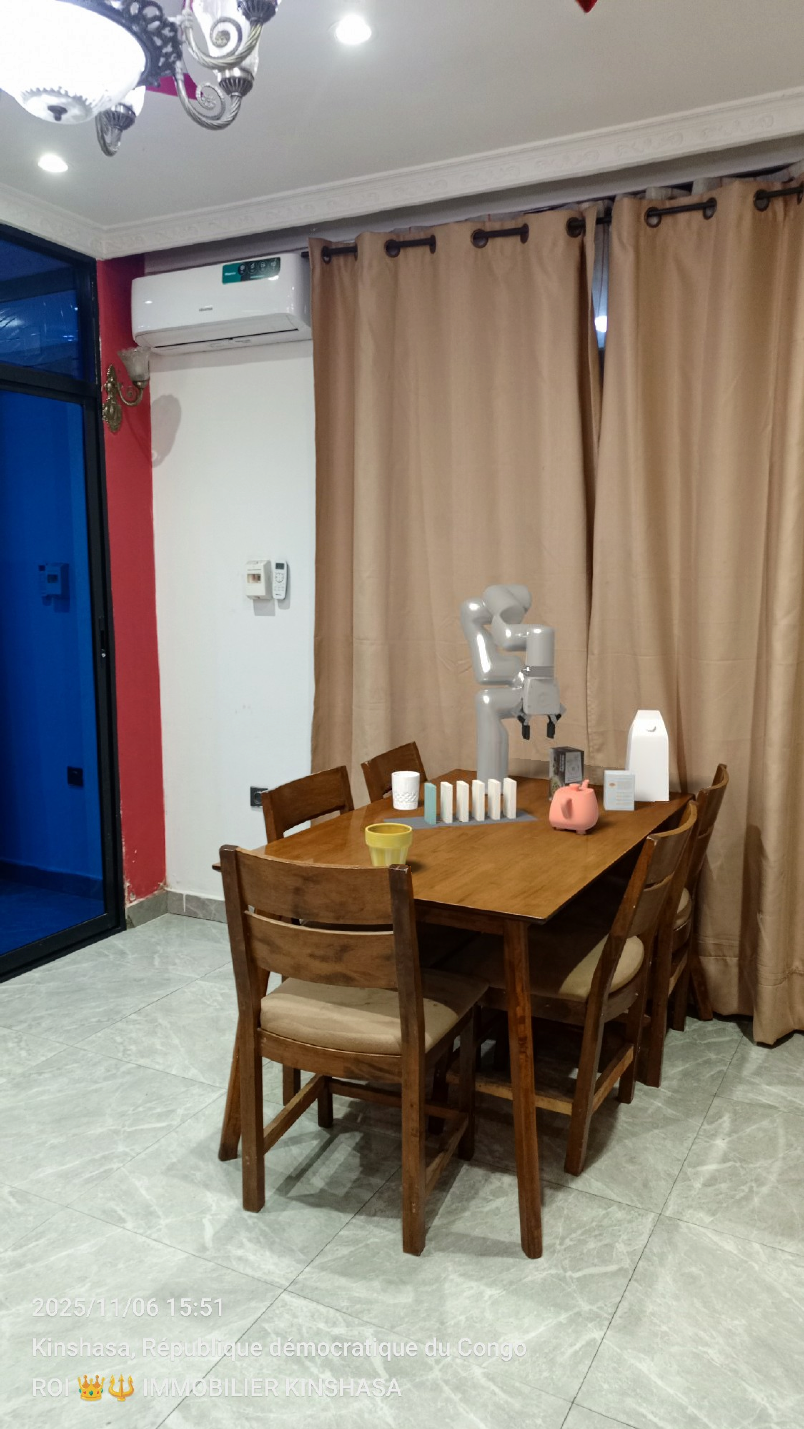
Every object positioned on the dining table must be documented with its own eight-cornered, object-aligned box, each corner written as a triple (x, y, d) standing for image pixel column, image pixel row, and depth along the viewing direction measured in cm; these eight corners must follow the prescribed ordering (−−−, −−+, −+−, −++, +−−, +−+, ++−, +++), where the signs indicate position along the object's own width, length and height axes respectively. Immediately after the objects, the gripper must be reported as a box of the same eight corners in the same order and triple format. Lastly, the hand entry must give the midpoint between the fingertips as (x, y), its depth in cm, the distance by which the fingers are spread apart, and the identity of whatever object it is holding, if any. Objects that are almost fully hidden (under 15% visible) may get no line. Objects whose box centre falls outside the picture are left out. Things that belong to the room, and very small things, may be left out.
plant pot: (388, 861, 220) (388, 819, 219) (421, 871, 213) (422, 828, 212) (355, 871, 213) (355, 828, 212) (389, 881, 206) (389, 836, 204)
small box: (631, 806, 274) (632, 770, 272) (634, 811, 268) (635, 774, 267) (602, 805, 275) (604, 769, 273) (605, 810, 269) (606, 773, 268)
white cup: (385, 808, 271) (385, 773, 270) (406, 804, 276) (406, 769, 275) (404, 813, 265) (404, 777, 264) (425, 809, 271) (425, 774, 269)
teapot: (585, 841, 238) (586, 793, 236) (539, 835, 243) (540, 788, 242) (607, 823, 255) (609, 778, 254) (564, 817, 261) (565, 774, 259)
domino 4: (472, 816, 260) (472, 780, 259) (477, 816, 260) (478, 779, 259) (478, 820, 255) (479, 784, 254) (484, 820, 256) (484, 783, 254)
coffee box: (583, 806, 274) (585, 750, 272) (564, 808, 271) (565, 752, 269) (566, 799, 282) (568, 745, 280) (547, 801, 280) (549, 746, 278)
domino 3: (456, 817, 259) (456, 781, 257) (462, 817, 259) (462, 780, 258) (462, 822, 254) (463, 785, 253) (468, 821, 254) (468, 784, 253)
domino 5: (487, 815, 261) (488, 779, 260) (493, 814, 262) (493, 778, 260) (494, 819, 256) (495, 783, 255) (500, 819, 257) (500, 782, 255)
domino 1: (424, 819, 256) (424, 783, 255) (430, 819, 257) (430, 782, 255) (430, 824, 251) (430, 786, 250) (436, 823, 252) (436, 786, 250)
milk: (663, 793, 291) (667, 708, 287) (668, 801, 280) (672, 713, 276) (623, 791, 293) (626, 707, 289) (626, 800, 281) (629, 712, 278)
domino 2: (440, 818, 257) (440, 782, 256) (446, 818, 258) (446, 781, 256) (446, 823, 253) (446, 786, 251) (452, 822, 253) (452, 785, 252)
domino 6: (503, 814, 262) (503, 778, 261) (508, 813, 263) (509, 778, 261) (510, 818, 258) (510, 782, 256) (515, 818, 258) (516, 781, 257)
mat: (382, 821, 257) (382, 819, 257) (521, 811, 268) (521, 809, 268) (394, 832, 245) (394, 830, 245) (538, 821, 256) (538, 820, 256)
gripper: (515, 674, 251) (513, 742, 254) (575, 672, 256) (573, 739, 258) (504, 671, 258) (503, 737, 261) (563, 670, 263) (561, 735, 265)
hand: (538, 738), depth 259 cm, fingers open, 6 cm apart
